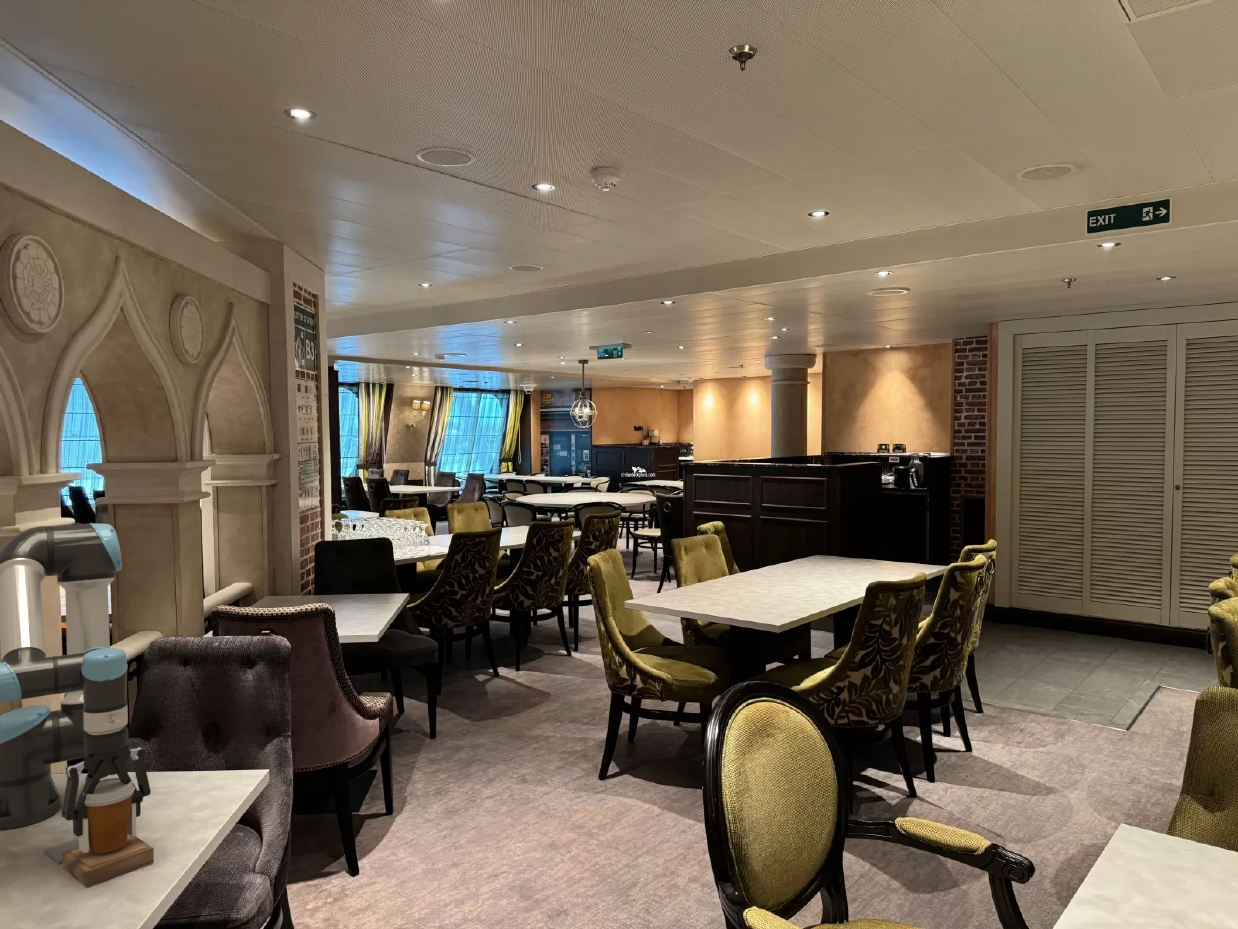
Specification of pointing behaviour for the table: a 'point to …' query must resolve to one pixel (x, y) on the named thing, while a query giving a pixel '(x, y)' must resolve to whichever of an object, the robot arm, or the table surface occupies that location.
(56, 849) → the slate coaster
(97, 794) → the disposable coffee cup
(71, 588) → the robot arm
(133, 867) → the walnut base
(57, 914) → the table surface
